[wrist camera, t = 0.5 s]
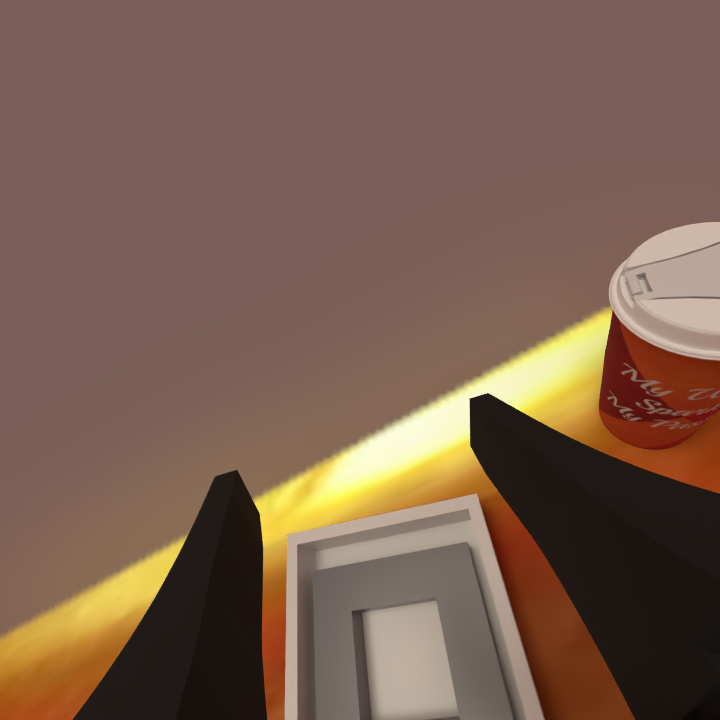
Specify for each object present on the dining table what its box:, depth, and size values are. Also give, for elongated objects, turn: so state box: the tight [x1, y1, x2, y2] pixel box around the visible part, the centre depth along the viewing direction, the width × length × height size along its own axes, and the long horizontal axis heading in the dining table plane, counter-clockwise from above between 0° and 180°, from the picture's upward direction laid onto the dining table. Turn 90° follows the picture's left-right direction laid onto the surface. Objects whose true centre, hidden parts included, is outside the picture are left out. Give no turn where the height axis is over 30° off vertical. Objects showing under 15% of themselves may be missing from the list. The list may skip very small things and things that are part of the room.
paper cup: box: [599, 222, 720, 449], centre depth 22 cm, size 8×8×14 cm
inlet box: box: [285, 494, 546, 720], centre depth 23 cm, size 16×14×4 cm
